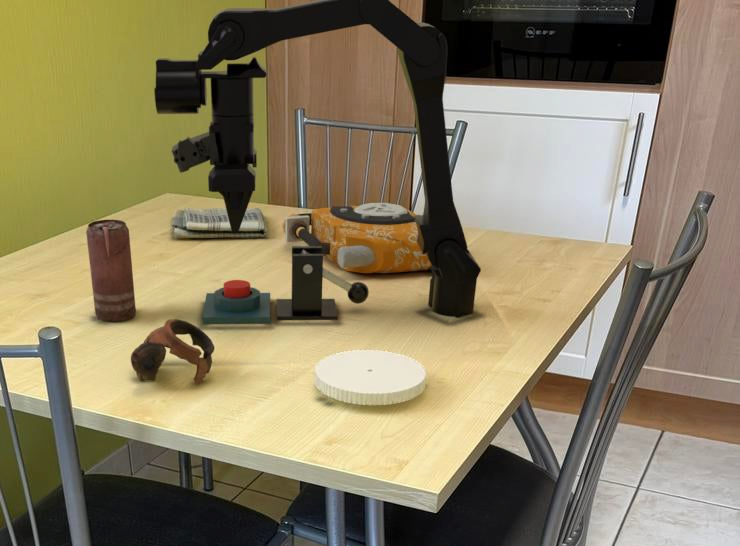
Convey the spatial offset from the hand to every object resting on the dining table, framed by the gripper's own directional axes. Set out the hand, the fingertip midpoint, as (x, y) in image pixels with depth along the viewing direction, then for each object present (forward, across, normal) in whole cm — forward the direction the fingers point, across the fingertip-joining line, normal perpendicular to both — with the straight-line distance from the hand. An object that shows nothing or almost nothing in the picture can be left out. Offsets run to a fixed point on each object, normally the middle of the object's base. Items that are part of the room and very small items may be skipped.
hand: (235, 229), depth 134 cm
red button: (+10, 0, 0) cm, 10 cm away
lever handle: (+9, 0, +14) cm, 16 cm away
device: (+13, -29, +21) cm, 38 cm away
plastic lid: (+13, +28, +18) cm, 35 cm away
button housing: (+13, 0, 0) cm, 13 cm away
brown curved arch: (+13, +24, -8) cm, 28 cm away
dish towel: (+13, -50, -5) cm, 52 cm away
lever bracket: (+13, 0, +10) cm, 17 cm away
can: (+13, 0, -18) cm, 23 cm away
